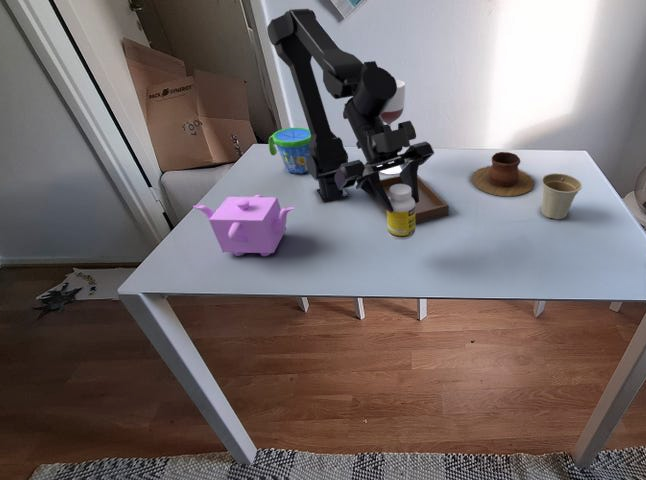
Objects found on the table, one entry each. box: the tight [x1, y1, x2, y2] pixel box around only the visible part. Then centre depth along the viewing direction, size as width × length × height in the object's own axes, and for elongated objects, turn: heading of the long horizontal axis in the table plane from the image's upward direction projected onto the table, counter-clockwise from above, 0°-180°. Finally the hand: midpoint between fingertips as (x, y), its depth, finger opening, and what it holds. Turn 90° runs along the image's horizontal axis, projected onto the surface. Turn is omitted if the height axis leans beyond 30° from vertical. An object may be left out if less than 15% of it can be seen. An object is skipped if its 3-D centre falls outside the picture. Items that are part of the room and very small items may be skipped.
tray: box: [376, 174, 450, 224], centre depth 99 cm, size 20×14×3 cm
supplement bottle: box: [386, 184, 416, 241], centre depth 74 cm, size 5×5×10 cm
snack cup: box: [268, 126, 311, 175], centre depth 109 cm, size 16×10×10 cm
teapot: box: [192, 194, 296, 257], centre depth 81 cm, size 15×13×11 cm
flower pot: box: [541, 172, 583, 220], centre depth 95 cm, size 9×9×9 cm
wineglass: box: [377, 78, 406, 175], centre depth 107 cm, size 9×10×23 cm
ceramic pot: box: [470, 151, 535, 197], centre depth 108 cm, size 18×18×7 cm
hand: (404, 207), depth 72 cm, fingers closed on supplement bottle, 5 cm apart
